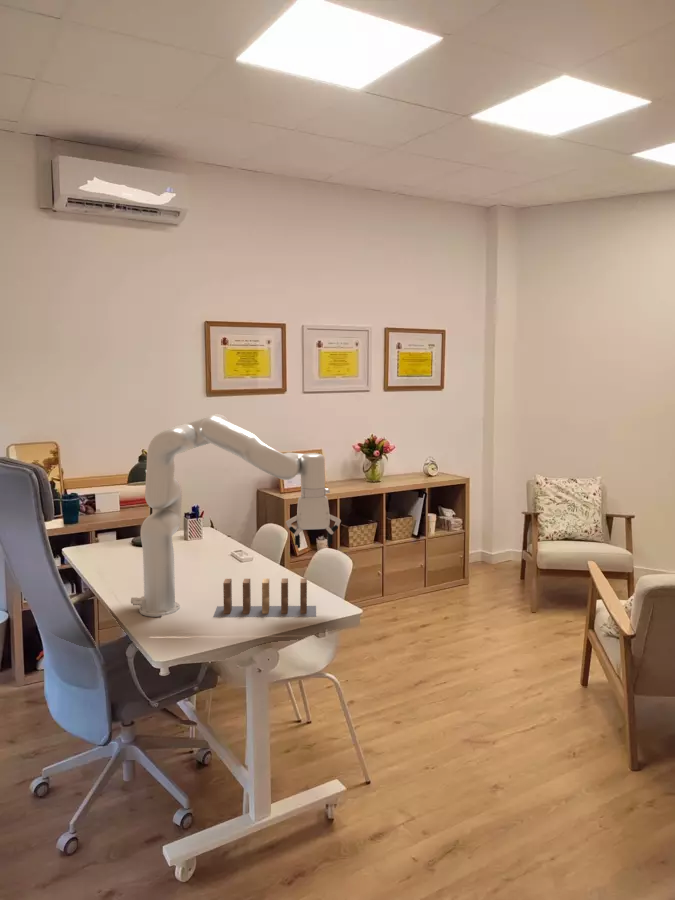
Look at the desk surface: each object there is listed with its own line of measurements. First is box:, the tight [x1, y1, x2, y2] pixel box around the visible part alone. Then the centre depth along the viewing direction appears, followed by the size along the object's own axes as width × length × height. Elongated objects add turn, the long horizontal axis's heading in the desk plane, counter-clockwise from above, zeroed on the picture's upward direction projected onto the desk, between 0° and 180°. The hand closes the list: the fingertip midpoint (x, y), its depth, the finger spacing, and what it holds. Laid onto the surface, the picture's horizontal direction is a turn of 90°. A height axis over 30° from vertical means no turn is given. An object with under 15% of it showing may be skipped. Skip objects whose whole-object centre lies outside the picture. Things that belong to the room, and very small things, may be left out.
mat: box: [212, 605, 317, 618], centre depth 219 cm, size 32×10×1 cm, turn 92°
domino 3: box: [261, 578, 270, 614], centre depth 219 cm, size 2×5×10 cm, turn 2°
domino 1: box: [222, 578, 233, 614], centre depth 218 cm, size 2×5×10 cm, turn 2°
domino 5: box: [299, 578, 308, 614], centre depth 219 cm, size 2×5×10 cm, turn 2°
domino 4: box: [280, 578, 289, 614], centre depth 219 cm, size 2×5×10 cm, turn 2°
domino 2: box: [242, 578, 252, 614], centre depth 218 cm, size 2×5×10 cm, turn 2°
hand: (313, 546), depth 217 cm, fingers open, 9 cm apart
